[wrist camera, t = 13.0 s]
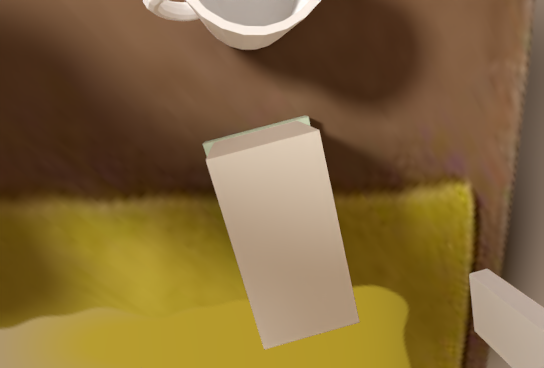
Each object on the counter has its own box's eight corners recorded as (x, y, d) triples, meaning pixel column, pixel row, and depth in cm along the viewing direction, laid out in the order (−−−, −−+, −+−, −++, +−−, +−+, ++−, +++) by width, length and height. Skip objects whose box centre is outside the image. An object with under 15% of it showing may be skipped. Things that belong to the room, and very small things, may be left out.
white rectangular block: (329, 267, 32) (359, 322, 24) (257, 287, 32) (264, 349, 24) (296, 120, 28) (319, 130, 20) (214, 141, 28) (205, 160, 20)
